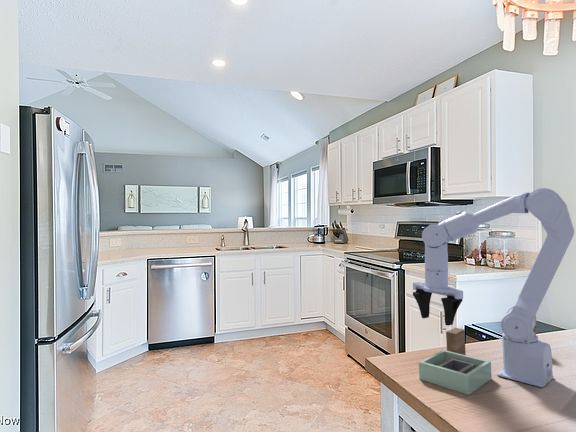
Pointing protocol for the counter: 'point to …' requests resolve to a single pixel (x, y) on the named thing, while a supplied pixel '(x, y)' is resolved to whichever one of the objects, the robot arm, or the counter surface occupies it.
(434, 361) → the sage green storage tray
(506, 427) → the counter surface
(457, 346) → the wood grain brick
